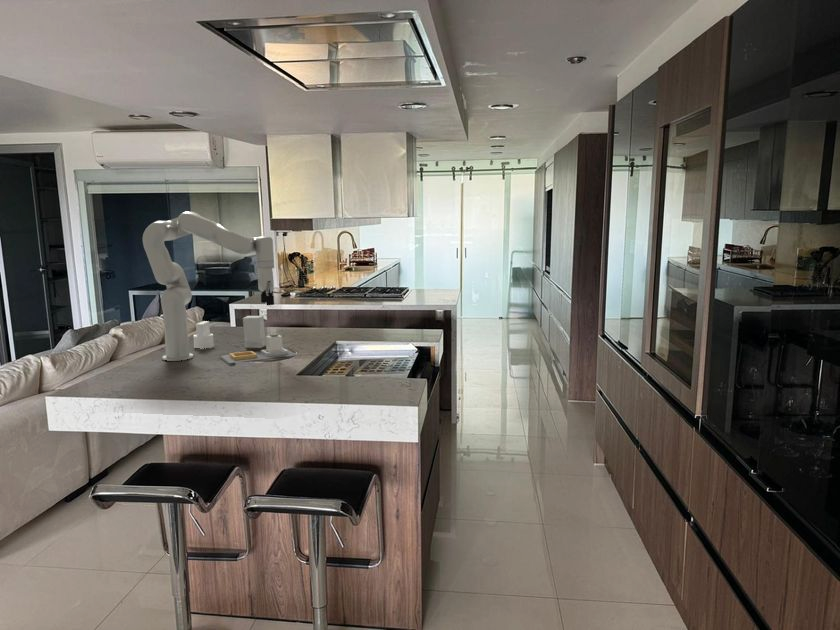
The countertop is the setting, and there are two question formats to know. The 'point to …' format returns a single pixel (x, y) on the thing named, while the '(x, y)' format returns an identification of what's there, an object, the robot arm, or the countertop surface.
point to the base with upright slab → (203, 336)
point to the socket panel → (254, 356)
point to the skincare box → (254, 331)
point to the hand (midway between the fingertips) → (267, 303)
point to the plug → (274, 343)
